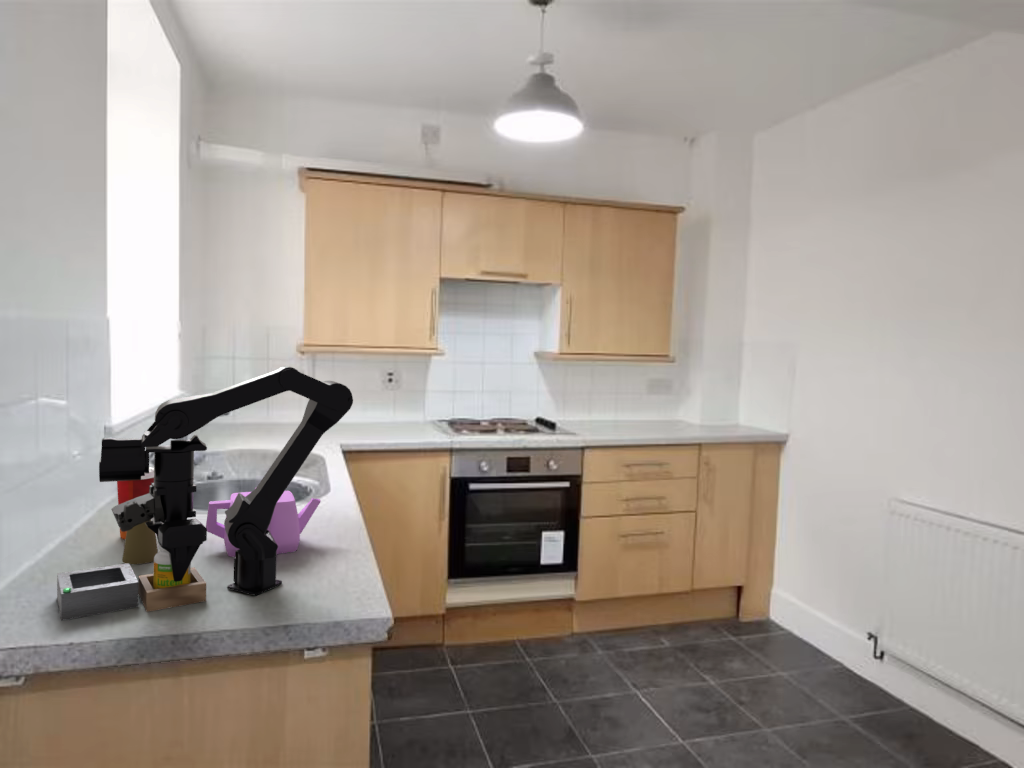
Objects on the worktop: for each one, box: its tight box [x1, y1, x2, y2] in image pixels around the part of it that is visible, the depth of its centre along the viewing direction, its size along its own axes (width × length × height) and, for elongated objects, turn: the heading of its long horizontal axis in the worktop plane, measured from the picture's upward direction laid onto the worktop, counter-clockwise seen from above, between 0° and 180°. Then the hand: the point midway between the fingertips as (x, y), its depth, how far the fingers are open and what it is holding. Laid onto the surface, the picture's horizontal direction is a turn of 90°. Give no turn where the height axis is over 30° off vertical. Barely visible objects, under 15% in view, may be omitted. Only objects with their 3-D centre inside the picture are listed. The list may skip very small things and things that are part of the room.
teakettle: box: [205, 487, 322, 558], centre depth 136 cm, size 17×17×12 cm
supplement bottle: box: [153, 543, 192, 590], centre depth 108 cm, size 5×5×10 cm
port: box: [56, 563, 139, 621], centre depth 105 cm, size 10×10×4 cm
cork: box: [121, 520, 159, 565], centre depth 125 cm, size 6×6×11 cm
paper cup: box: [116, 466, 154, 540], centre depth 139 cm, size 8×8×14 cm
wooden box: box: [137, 567, 207, 613], centre depth 109 cm, size 8×8×3 cm
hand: (172, 572), depth 109 cm, fingers open, 8 cm apart
